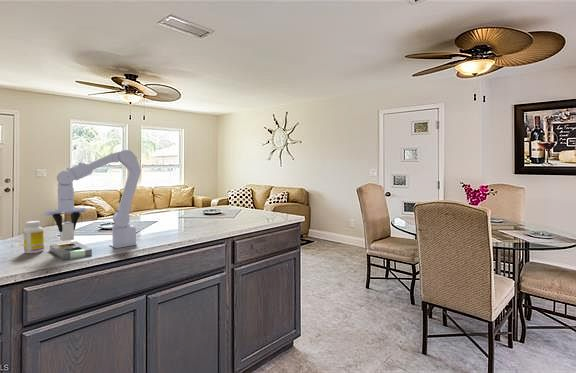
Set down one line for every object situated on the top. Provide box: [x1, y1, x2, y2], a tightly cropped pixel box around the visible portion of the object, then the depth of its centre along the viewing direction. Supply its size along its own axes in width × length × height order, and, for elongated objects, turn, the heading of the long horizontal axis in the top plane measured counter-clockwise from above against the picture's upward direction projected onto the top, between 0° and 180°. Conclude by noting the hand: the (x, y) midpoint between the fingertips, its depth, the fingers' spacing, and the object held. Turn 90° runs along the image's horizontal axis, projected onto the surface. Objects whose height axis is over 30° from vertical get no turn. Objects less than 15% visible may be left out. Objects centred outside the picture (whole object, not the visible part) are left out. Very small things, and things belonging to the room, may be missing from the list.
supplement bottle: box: [22, 220, 45, 254], centre depth 140 cm, size 7×7×13 cm
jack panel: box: [49, 241, 93, 261], centre depth 139 cm, size 10×20×2 cm, turn 48°
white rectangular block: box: [59, 221, 75, 242], centre depth 142 cm, size 4×4×8 cm
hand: (66, 230), depth 142 cm, fingers closed on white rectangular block, 4 cm apart
